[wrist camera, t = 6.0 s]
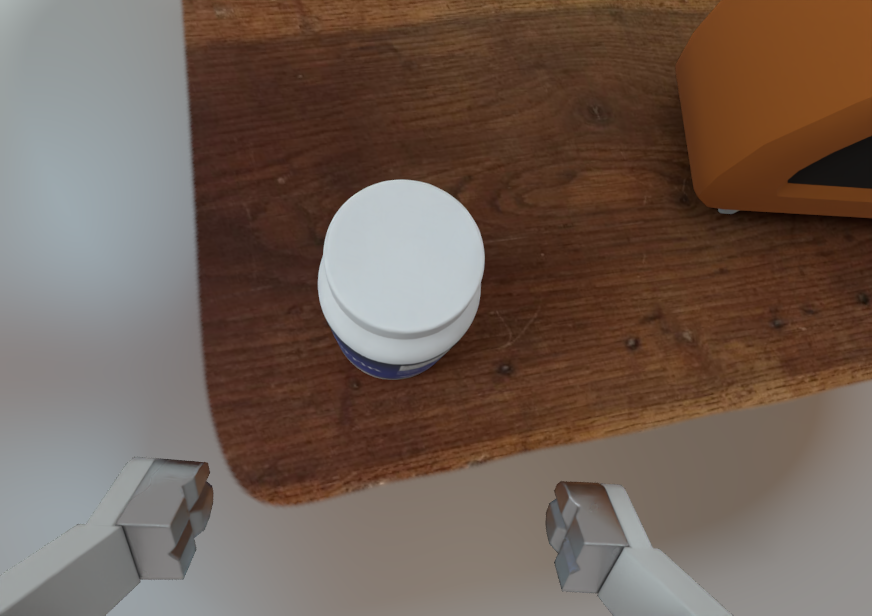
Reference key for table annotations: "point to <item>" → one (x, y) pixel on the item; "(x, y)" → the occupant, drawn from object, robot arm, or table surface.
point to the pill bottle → (400, 277)
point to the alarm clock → (780, 107)
